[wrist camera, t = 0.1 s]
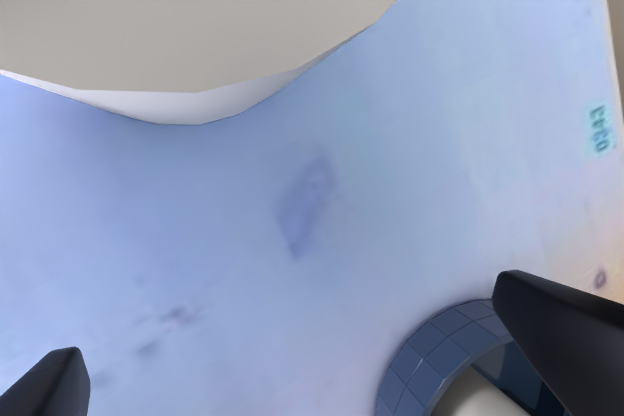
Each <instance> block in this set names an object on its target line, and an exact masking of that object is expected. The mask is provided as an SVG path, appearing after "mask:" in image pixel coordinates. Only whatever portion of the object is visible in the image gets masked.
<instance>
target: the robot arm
mask: <svg viewBox="0 0 624 416" xmlns="http://www.w3.org/2000/svg"><path fill="white" fill-rule="evenodd" d="M491 303H492V307H493V309H494V311H495V313H496V314H497V316H498V317H499V319H500V320H501V322H502V323H503V325H504V326H505V328H506V329H507V331H508V332H509V333H510V335H511V336H512V338H513V339H514V341H515V342H516V344H517V345H518V347H519V348H520V350H521V351H522V353H523V354H524V356H525V357H526V359H527V360H528V362H529V363H530V364H531V366H532V367H533V368H534V370H535V371H536V372H537V374H538V375H539V376H540V377H541V379H542V380H543V381H544V382H545V384H546V385H547V386H548V387H549V389H550V390H551V391H552V392H553V394H554V395H555V396H556V397H557V399H558V400H559V401H560V402H561V404H562V405H563V406H564V407H565V409H566V410H567V411H568V412H569V414H570V415H571V416H624V305H623V304H620V303H617V302H614V301H611V300H608V299H605V298H602V297H599V296H596V295H593V294H590V293H587V292H584V291H581V290H578V289H575V288H572V287H569V286H566V285H562V284H559V283H556V282H553V281H550V280H547V279H544V278H541V277H538V276H535V275H532V274H529V273H526V272H523V271H520V270H509V271H503V272H501V273H500V274H499V275H498V277H497V280H496V283H495V287H494V291H493V295H492V299H491ZM89 398H90V379H89V375H88V372H87V369H86V366H85V363H84V360H83V356H82V353H81V351H80V350H79V348H77V347H69V348H63V349H57V350H53V351H51V352H49V353H48V354H47V355H46V356H44V357H43V358H42V359H41V360H40V361H39V362H38V363H37V364H36V365H35V366H33V367H32V368H31V369H30V370H29V371H28V372H27V373H26V374H25V375H24V376H22V377H21V378H20V379H19V380H18V381H17V382H16V383H15V384H14V385H13V386H11V387H10V388H9V389H8V390H7V391H6V392H5V393H4V394H3V395H2V396H0V416H87V412H88V405H89Z"/></svg>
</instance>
